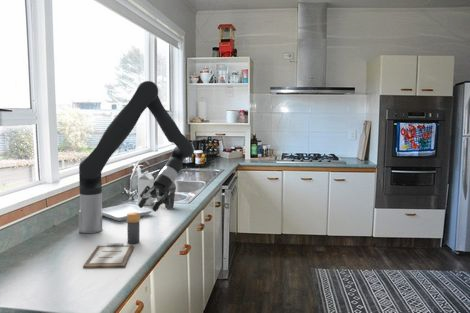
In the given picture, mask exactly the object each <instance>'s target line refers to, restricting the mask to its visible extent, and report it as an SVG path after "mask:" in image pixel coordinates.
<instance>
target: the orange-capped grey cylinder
mask: <svg viewBox="0 0 470 313" xmlns="http://www.w3.org/2000/svg"><path fill="white" fill-rule="evenodd" d="M140 219H141V217H140V213H136V212H132V213H128V214H127V220H126V222H127V226H126V227H127V245H128V244H129V245H135V244H139V243H140V241H141V240H140V227H141V226H140V221H141V220H140Z"/></svg>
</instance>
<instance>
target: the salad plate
mask: <svg viewBox="0 0 470 313" xmlns="http://www.w3.org/2000/svg"><path fill="white" fill-rule="evenodd" d="M132 212H136V213H140V218H141V217H145V216H147V215H150V214H151V213H152V212H153V209H151V208H147V207H144V206H143V207H142V208H140V207H139V206H138V205H136V204H132V203H126V204H125V203H124V204H119V205H114V206H108V207H104V208H103V207H102V217H105V218H108V219H112V220H115V221H118V222H123V221H127V214H128V213H132Z"/></svg>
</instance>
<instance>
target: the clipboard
mask: <svg viewBox="0 0 470 313" xmlns="http://www.w3.org/2000/svg"><path fill="white" fill-rule="evenodd" d="M134 245H135V244H129V245H128V244H127V245H124V243H123V242H119V243H118V242H117V243H116V242H115V243H113V242H111V243H109V242H108V243H107V244H106V245H97V246H96V247H95V249H94V250H93V252H92V253H91V254H90V256H89V257H88V259H87V260H86V261H85V263H84V264H83V266H82V268H83V269H110V268H111V269H113V268H114V269H118V268H121V269H122V268H123V269H125V268H126V265H127V263H128V261H129V259H130V257H131V254H132V252H133V250H134V248H135V246H134Z"/></svg>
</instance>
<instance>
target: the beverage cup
mask: <svg viewBox="0 0 470 313" xmlns="http://www.w3.org/2000/svg"><path fill="white" fill-rule="evenodd" d="M176 190H177V187H176V184H175V181H174V182H173V184H172V186H171V187H170V189H169V191H170V192H171V195H170V197H169V199H168V201H167V203H166V204H164V207H165V208H167V209H166V210H170V209H169V208H173V209H174V205H175V196H176Z"/></svg>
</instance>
